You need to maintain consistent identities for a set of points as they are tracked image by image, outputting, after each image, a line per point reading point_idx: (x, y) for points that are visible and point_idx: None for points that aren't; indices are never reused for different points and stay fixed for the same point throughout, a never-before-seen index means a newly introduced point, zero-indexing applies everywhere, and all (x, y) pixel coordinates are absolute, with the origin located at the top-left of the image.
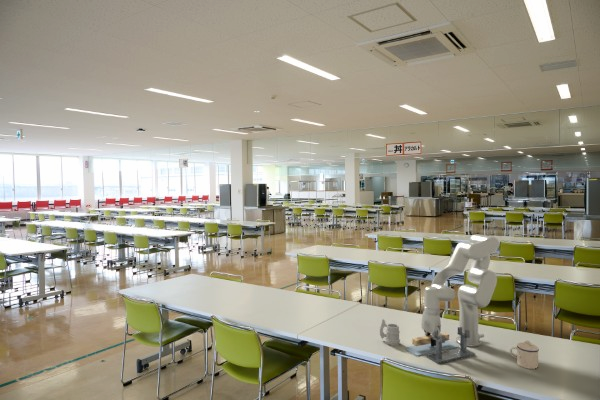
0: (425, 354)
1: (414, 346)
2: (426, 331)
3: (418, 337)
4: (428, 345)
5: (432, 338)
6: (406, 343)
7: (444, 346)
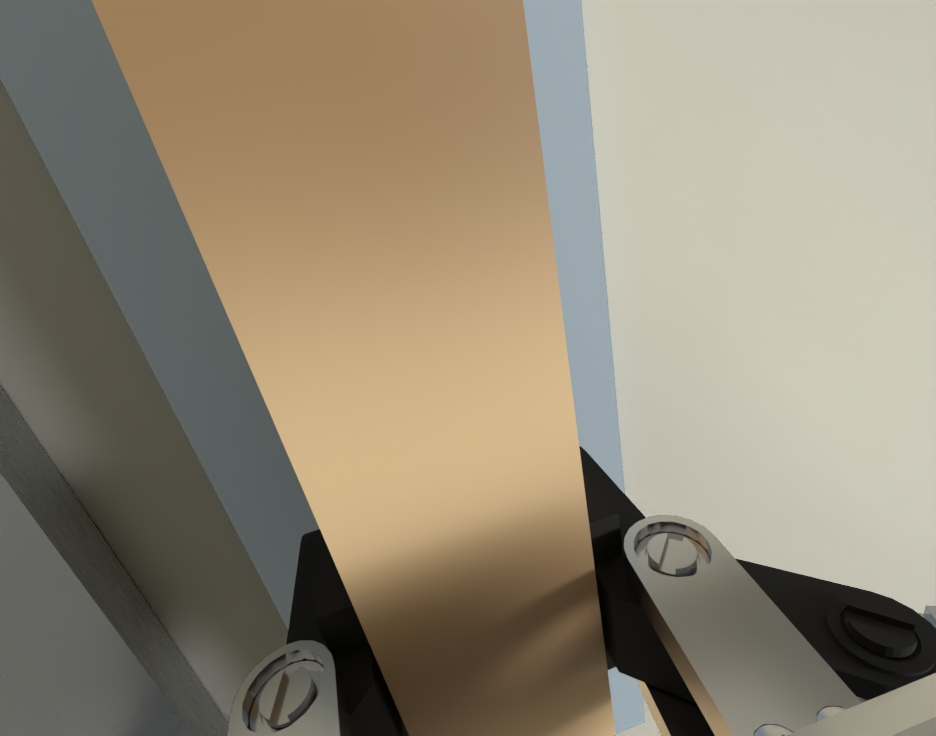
0: (58, 152)
1: (544, 77)
2: (768, 708)
3: (515, 33)
4: None
5: (299, 672)
6: (785, 13)
7: None
